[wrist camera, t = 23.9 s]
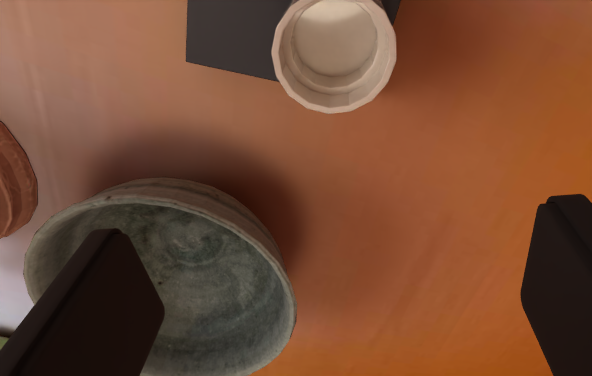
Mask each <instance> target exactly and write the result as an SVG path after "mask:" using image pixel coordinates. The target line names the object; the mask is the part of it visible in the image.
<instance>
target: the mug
mask: <svg viewBox="0 0 592 376" xmlns="http://www.w3.org/2000/svg"><path fill="white" fill-rule="evenodd" d="M36 206H37V181H36V178H35V176H34V174H33V171H32V169H31V166H30V164H29V161H28V159H27V156H26V154H25V153H24V151H23V150H22V148H21V147H20V146H19V144H18V143H17V142H16V140H15V139H14V138H13V136H12V135H11V134H10V132H9V131H8V130H7V128H6V127H5V126H4V125H3V124H2V123H1V122H0V239H1V238H2V237H7V236H9V235H10V234H12V233H13V232H15V231H16V230H18V229H19V228H21V227H22V226H24V225H25V224H26V223H28V222H29V221H30V218H31V216H32V214H33V212H34V210H35V208H36Z"/></svg>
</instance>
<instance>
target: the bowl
mask: <svg viewBox="0 0 592 376" xmlns="http://www.w3.org/2000/svg"><path fill="white" fill-rule="evenodd" d="M110 228H118V229H120V230H121V231H122V232H123V233H124V234H127V235H128V236H129V238H130V240H131V242H132V244H133V246H134V247H135V249H136V251H137V253H138V255H139V257H140V259H141V261H142V263H143V265H144V267H145V269H146V271H147V273H148V275H149V277H150V279H151V281H152V283H153V285H154V287H155V289H156V291H157V293H158V295H159V297H160V299H161V301H162V302H163V305H164V308H165V316H164V320H163V322H162V325H161V327H160V329H159V332H158V334H157V336H156V339H155V341H154V343H153V346H152V348H151V350H150V353H149V355H148V357H147V360H146V362H145V364H144V367H143V369H142V371H141V374H140V376H248V375H250V374H251V373H253V372H255V371H257V370H259V369H261V368H263V367H265V366H266V365H267V364H269V363H270V362H271V361H272V360H273V359H275V358H276V357H277V356H278V355H279V354H280V353H281V352H282V350H283V349H284V347H285V346H286V344H287V343H288V341H289V339H290V337H291V335H292V332H293V329H294V327H295V324H296V316H297V302H296V298H295V295H294V291H293V288H292V285H291V282H290V280H289V278H288V275H287V271H286V268H285V265H284V261H283V258H282V254H281V252H280V249H279V247H278V245H277V244H276V242H275V240H274V239H273V237H272V235H271V233H270V232H269V230H268V229H267V228H266V227H265V226H264V225H263V223H262V222H261V221H260V220H259V219H258V218H257V217H256V216H255V215H254V214H253V213H252V212H251V211H250V210H249V209H248V208H247V207H245V206H244V205H243V204H241V203H240V202H239V201H237V200H236V199H235V198H233V197H232V196H230V195H228V194H226V193H224V192H222V191H220V190H218V189H216V188H214V187H212V186H209V185H206V184H202V183H199V182H195V181H191V180H186V179H177V178H170V177H158V178H144V179H137V180H133V181H130V182H126V183H123V184H120V185H117V186H113V187H110V188H108V189H105V190H103V191H101V192H99V193H97V194H96V195H94V196H92V197H90V198H88V199H86V200H84V201H82V202H79V203H75V204H73V205H71V206H69V207H67V208H66V209H64V210H62V211H60V212H58V213H56V214H55V215H53V216H51V217H50V218H49V219H48V220H47V221H46V222H45V223H44V224H43V226H42V227H41V228H40V229H39V230H38V231H37V232H36V233H35V235H34V237H33V239H32V241H31V244H30V246H29V248H28V250H27V252H26V254H25V262H24V273H23V275H24V279H25V283H26V286H27V290H28V294H29V296H30V298H31V299H32V301H33V303H34V305H35V304H36V303H37V301H38V300H39V299H40V297H41V296H42V295H43V293H44V292H45V291H46V289H47V288H48V287H49V286H50V284H51V283H52V282H53V280H54V279H55V278H56V276H57V275H58V274H59V272H60V271H61V270H62V269H63V267H64V266H65V265H66V263H67V262H68V261H69V259H70V258H71V257H72V255H73V254H74V253H75V251H76V250H77V249H78V248H79V246H80V245H81V244H82V242H83V241H84V240H85V238H86V237H87V236H88V234H89V233H90V232H91V231H93V230H96V229H110Z"/></svg>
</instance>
